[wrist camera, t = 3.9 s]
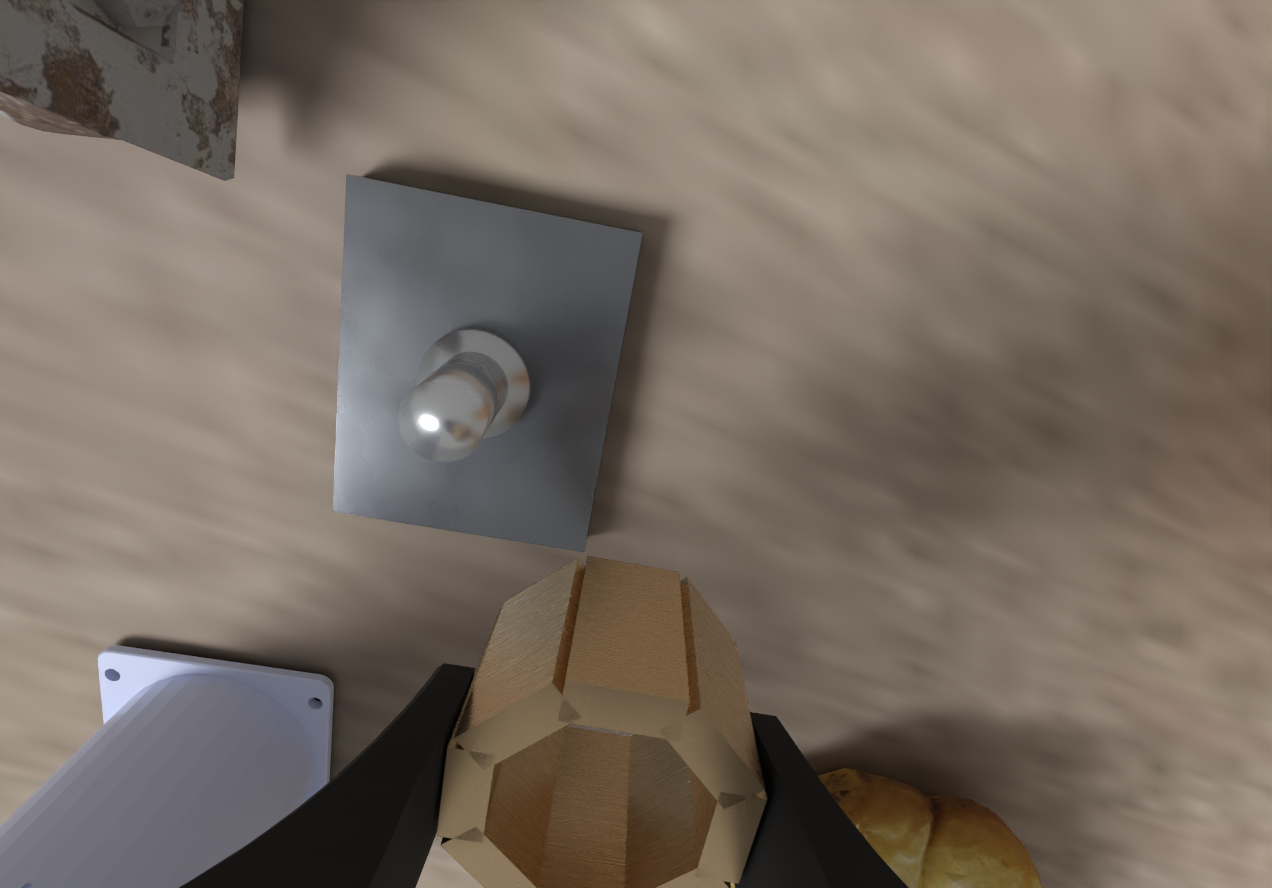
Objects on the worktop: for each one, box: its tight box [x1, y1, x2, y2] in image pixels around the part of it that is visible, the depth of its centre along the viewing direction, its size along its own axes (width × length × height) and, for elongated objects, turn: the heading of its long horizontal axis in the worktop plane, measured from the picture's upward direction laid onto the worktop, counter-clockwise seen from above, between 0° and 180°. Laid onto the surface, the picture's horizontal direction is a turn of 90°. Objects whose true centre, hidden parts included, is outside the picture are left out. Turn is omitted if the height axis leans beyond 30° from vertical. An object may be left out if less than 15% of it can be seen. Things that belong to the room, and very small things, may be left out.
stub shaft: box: [333, 175, 643, 552], centre depth 18 cm, size 10×8×5 cm
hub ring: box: [437, 556, 767, 888], centre depth 13 cm, size 5×5×4 cm
